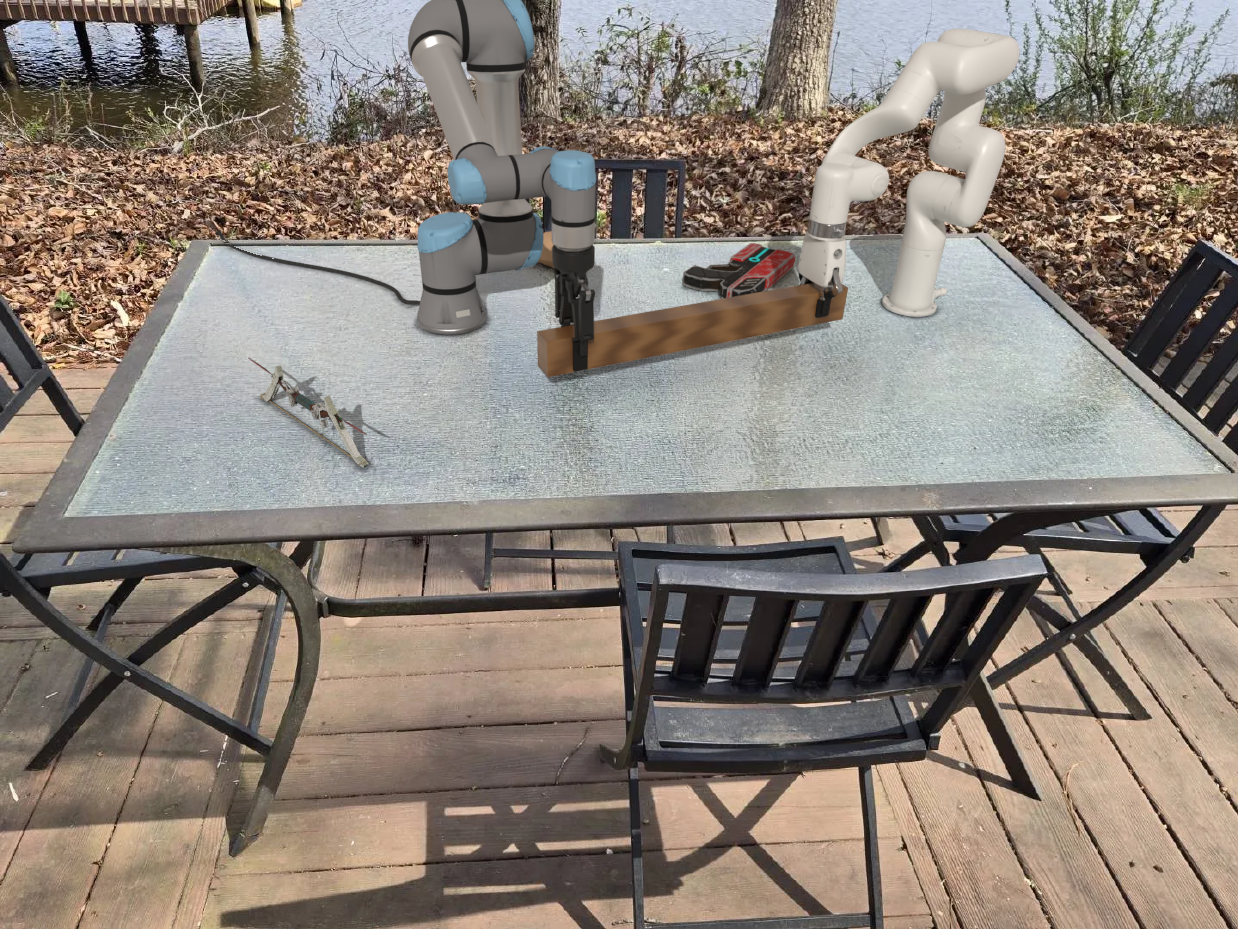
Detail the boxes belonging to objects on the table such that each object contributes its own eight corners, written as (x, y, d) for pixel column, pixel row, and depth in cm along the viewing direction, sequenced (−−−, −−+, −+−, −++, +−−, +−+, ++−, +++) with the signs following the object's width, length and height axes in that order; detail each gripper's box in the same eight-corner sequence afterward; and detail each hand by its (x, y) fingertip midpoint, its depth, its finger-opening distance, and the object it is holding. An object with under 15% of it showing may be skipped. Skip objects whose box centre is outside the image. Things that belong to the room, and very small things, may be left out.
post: (547, 377, 163) (547, 341, 159) (537, 366, 167) (536, 330, 163) (842, 319, 189) (848, 287, 185) (828, 310, 193) (833, 279, 189)
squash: (587, 272, 224) (582, 240, 218) (510, 279, 226) (503, 248, 219) (588, 250, 232) (584, 219, 226) (514, 257, 233) (507, 226, 227)
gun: (678, 273, 212) (751, 292, 205) (732, 235, 234) (800, 251, 226) (676, 290, 215) (749, 310, 207) (730, 251, 237) (797, 268, 229)
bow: (378, 470, 147) (371, 419, 141) (369, 475, 146) (361, 423, 140) (261, 391, 168) (250, 343, 163) (252, 394, 167) (241, 347, 162)
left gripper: (614, 258, 149) (612, 380, 162) (572, 226, 162) (573, 340, 175) (574, 264, 146) (574, 387, 159) (534, 231, 159) (538, 347, 172)
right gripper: (868, 238, 173) (852, 323, 183) (816, 213, 185) (804, 293, 195) (837, 243, 170) (823, 329, 180) (786, 217, 182) (776, 299, 193)
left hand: (574, 362), depth 167 cm, fingers closed on post, 5 cm apart
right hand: (813, 310), depth 188 cm, fingers closed on post, 5 cm apart
